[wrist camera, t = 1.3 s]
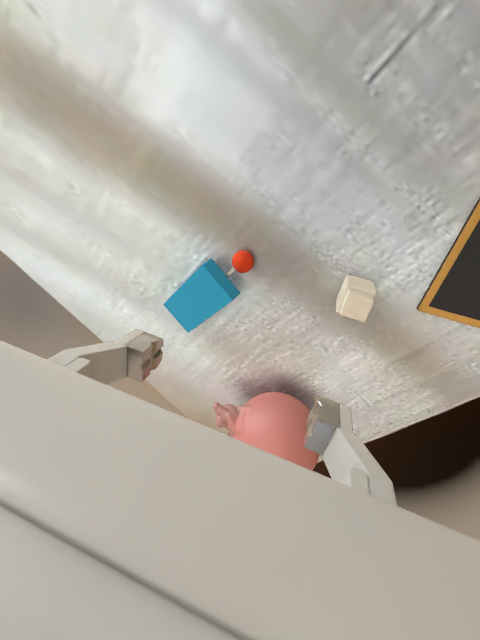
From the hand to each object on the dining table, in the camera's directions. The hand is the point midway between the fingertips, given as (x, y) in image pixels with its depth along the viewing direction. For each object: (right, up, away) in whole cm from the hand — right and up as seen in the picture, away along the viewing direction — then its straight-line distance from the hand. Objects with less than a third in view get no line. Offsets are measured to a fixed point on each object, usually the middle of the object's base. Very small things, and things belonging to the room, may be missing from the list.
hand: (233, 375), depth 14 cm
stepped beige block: (+17, +7, +27) cm, 33 cm away
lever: (-4, +9, +34) cm, 36 cm away
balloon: (+7, -13, +41) cm, 44 cm away
